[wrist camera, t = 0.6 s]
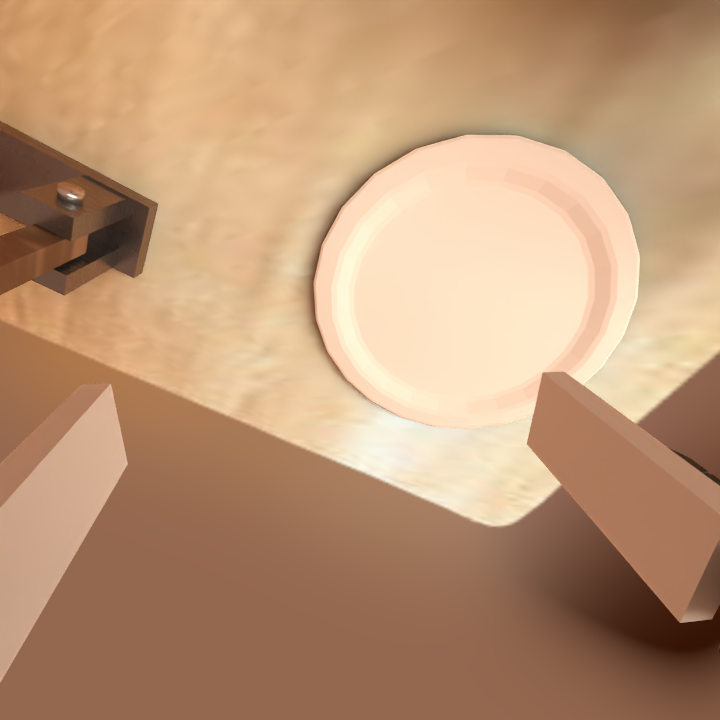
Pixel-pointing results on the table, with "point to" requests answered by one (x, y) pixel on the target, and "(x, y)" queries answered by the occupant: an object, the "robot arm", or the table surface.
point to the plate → (475, 279)
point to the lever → (34, 254)
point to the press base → (73, 209)
